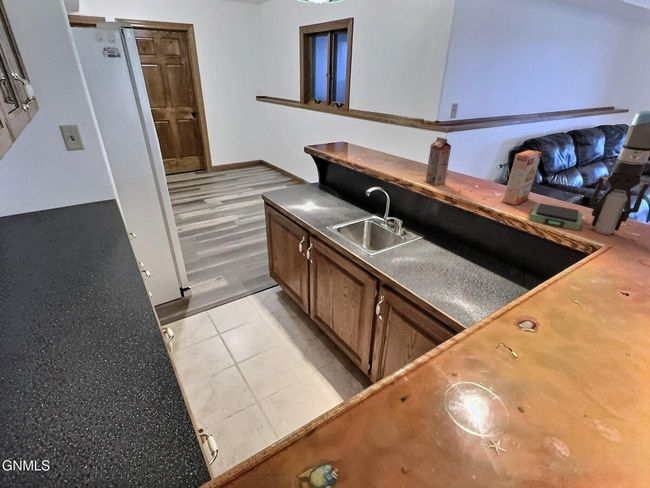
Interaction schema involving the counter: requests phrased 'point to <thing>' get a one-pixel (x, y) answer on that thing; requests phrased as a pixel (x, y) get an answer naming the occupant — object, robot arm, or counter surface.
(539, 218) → the scale
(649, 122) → the robot arm
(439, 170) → the juice carton
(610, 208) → the energy drink can
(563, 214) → the scale pan
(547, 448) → the counter surface
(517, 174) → the cracker box
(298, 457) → the counter surface
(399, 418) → the counter surface
